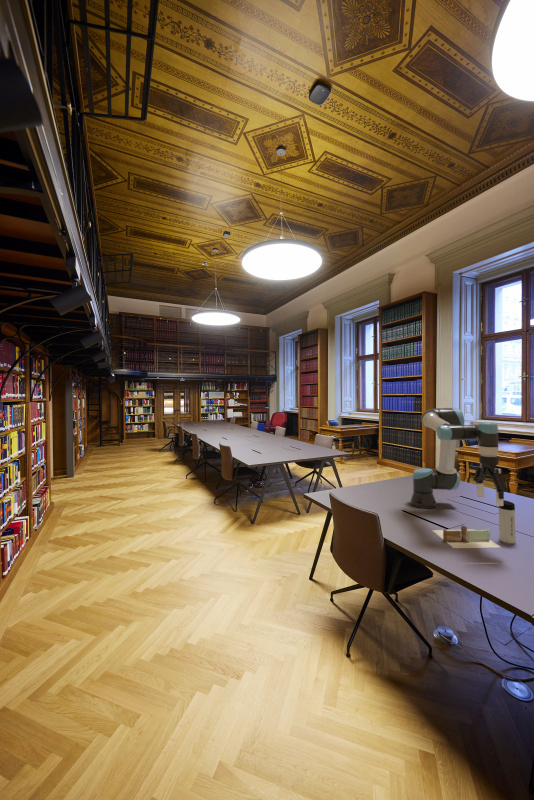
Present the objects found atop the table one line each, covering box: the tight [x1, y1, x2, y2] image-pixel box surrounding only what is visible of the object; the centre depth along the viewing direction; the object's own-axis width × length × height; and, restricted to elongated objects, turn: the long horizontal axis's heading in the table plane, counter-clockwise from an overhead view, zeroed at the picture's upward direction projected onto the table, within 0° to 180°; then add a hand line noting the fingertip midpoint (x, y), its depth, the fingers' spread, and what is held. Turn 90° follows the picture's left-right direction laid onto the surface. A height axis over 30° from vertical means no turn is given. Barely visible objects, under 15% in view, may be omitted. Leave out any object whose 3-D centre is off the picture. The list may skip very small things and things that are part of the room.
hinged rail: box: [467, 528, 491, 541], centre depth 155 cm, size 10×2×5 cm, turn 89°
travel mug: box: [498, 499, 517, 545], centre depth 154 cm, size 6×7×20 cm
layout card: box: [431, 528, 501, 549], centre depth 158 cm, size 20×22×1 cm
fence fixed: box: [442, 525, 468, 542], centre depth 155 cm, size 2×11×7 cm, turn 89°
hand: (489, 501), depth 149 cm, fingers open, 12 cm apart
